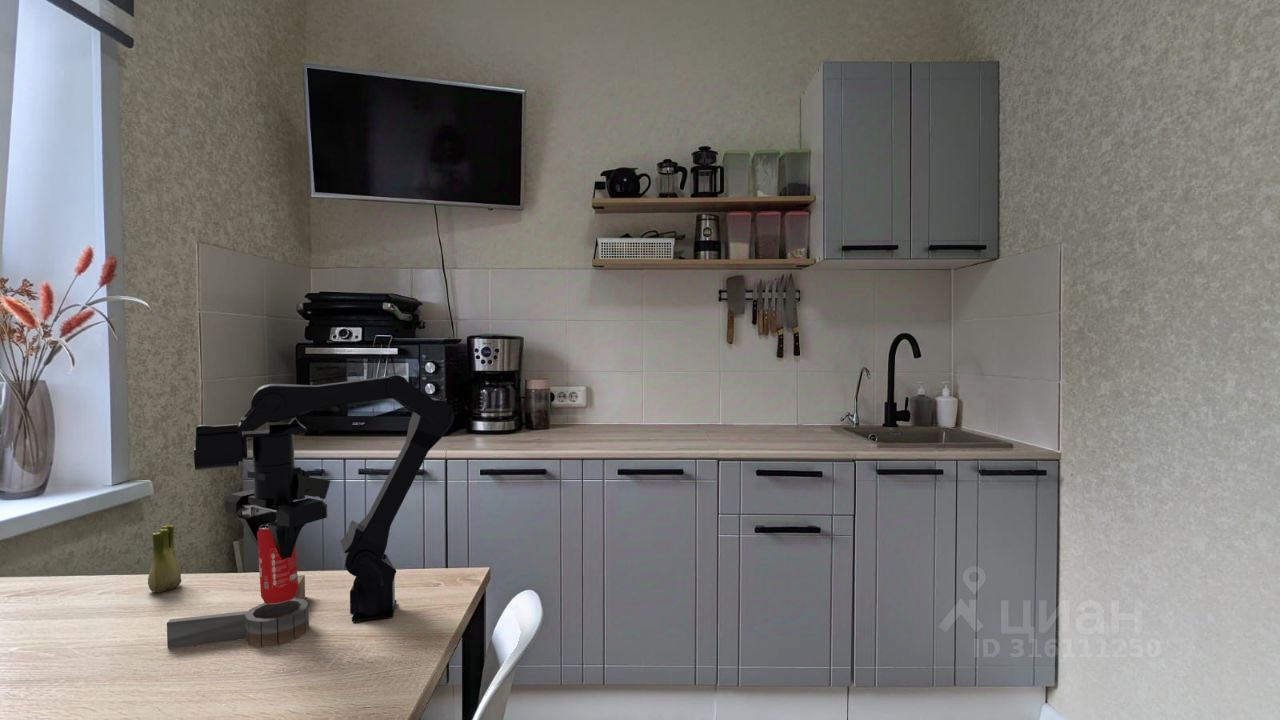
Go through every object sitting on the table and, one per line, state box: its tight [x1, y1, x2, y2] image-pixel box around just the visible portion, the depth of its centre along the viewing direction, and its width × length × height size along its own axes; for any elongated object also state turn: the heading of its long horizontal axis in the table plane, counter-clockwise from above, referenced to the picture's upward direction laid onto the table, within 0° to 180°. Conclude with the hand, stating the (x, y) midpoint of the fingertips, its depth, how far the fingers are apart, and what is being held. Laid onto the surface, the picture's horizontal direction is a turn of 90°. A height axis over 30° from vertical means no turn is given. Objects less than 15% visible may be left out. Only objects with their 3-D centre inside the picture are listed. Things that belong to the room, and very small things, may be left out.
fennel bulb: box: [147, 524, 182, 593], centre depth 118 cm, size 6×5×12 cm
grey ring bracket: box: [166, 574, 310, 649], centre depth 104 cm, size 19×19×4 cm
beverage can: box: [257, 520, 299, 604], centre depth 99 cm, size 5×5×12 cm
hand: (276, 559), depth 100 cm, fingers closed on beverage can, 5 cm apart
